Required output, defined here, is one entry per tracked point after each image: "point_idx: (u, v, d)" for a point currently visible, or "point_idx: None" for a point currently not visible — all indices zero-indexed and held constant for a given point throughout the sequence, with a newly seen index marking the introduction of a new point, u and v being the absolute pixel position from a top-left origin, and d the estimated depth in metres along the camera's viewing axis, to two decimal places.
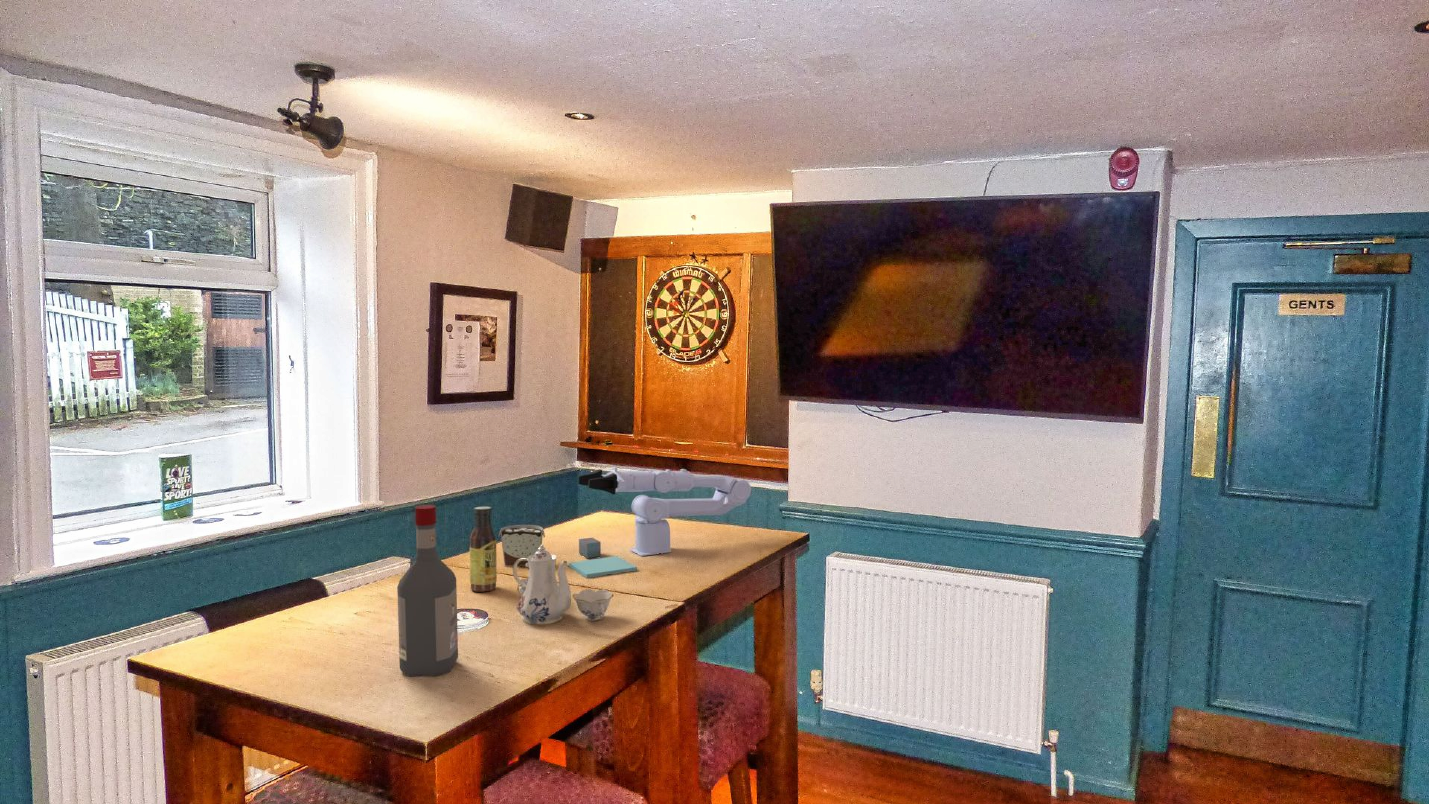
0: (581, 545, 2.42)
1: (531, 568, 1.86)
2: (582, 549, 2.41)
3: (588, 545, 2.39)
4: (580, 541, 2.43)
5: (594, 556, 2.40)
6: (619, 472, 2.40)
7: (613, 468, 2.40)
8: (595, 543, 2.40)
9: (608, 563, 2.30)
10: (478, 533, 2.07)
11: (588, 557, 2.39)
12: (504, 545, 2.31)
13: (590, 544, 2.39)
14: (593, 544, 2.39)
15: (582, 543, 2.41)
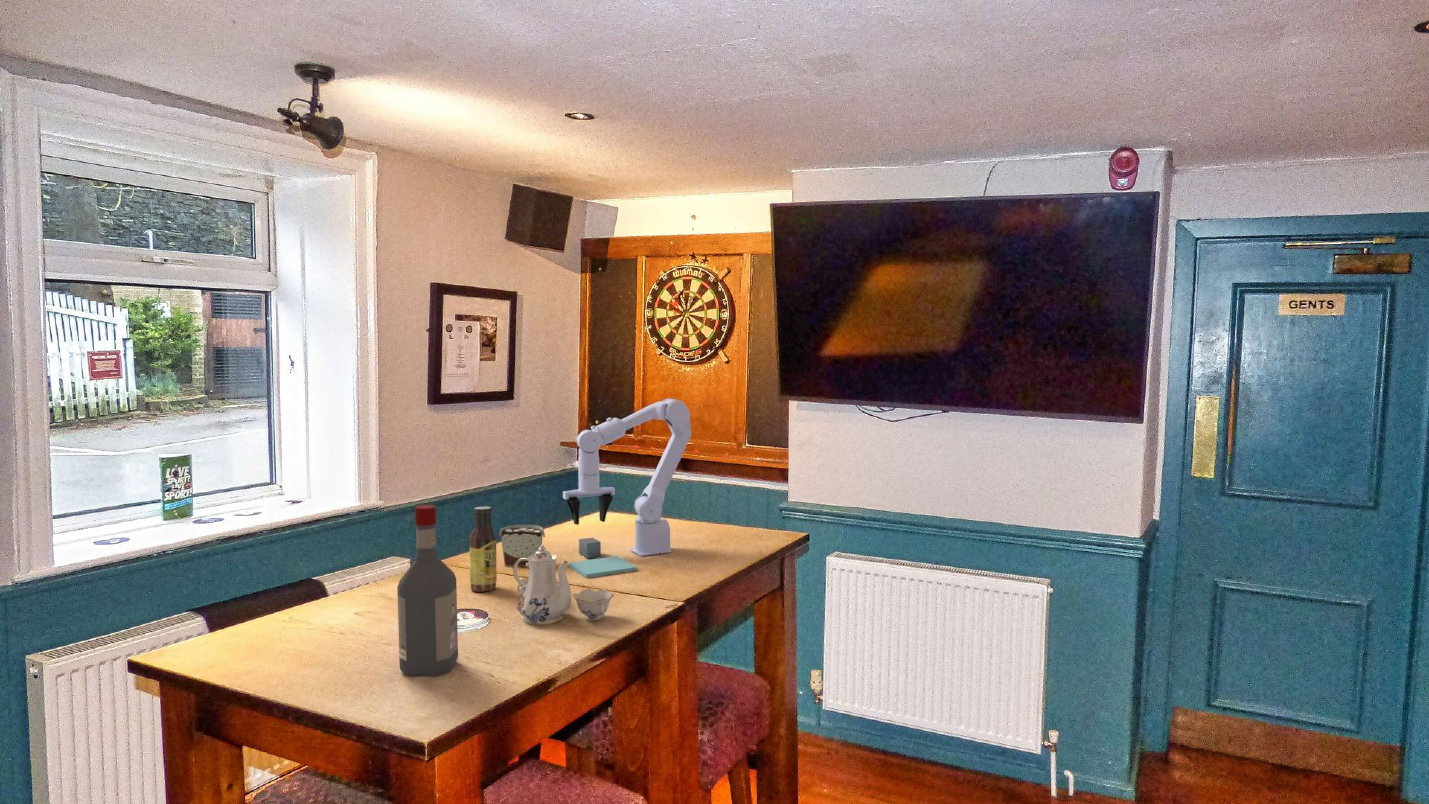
0: (581, 545, 2.42)
1: (531, 568, 1.86)
2: (582, 549, 2.41)
3: (588, 545, 2.39)
4: (580, 541, 2.43)
5: (594, 556, 2.40)
6: None
7: None
8: (595, 543, 2.40)
9: (608, 563, 2.30)
10: (478, 533, 2.07)
11: (588, 557, 2.39)
12: (504, 545, 2.31)
13: (590, 544, 2.39)
14: (593, 544, 2.39)
15: (582, 543, 2.41)
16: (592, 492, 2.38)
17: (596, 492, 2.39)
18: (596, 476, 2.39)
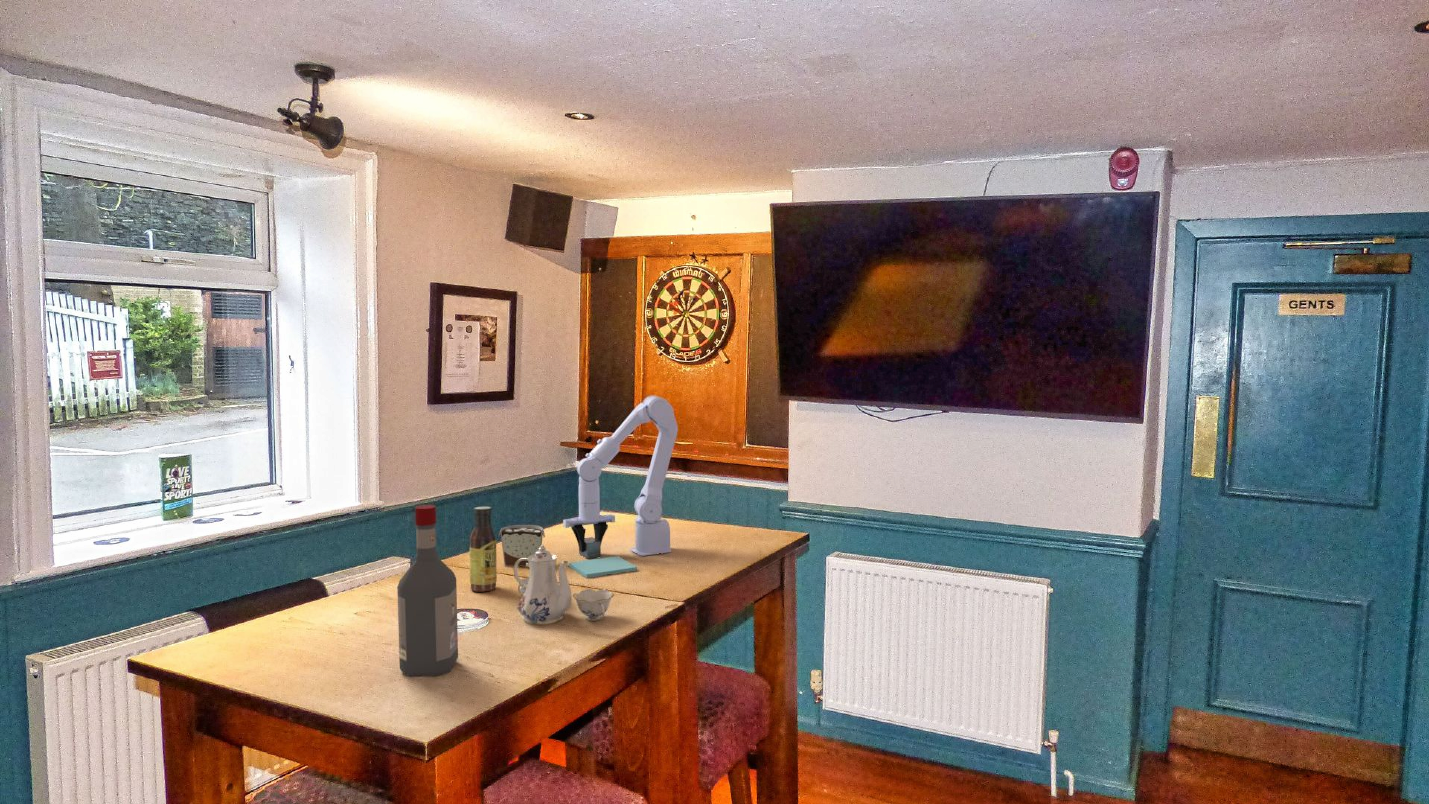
0: None
1: (531, 568, 1.86)
2: None
3: (588, 545, 2.39)
4: None
5: (594, 556, 2.40)
6: None
7: None
8: (595, 543, 2.40)
9: (608, 563, 2.30)
10: (478, 533, 2.07)
11: (588, 557, 2.39)
12: (504, 545, 2.31)
13: (590, 544, 2.39)
14: (593, 544, 2.39)
15: None
16: (592, 520, 2.39)
17: (596, 520, 2.39)
18: (596, 504, 2.39)
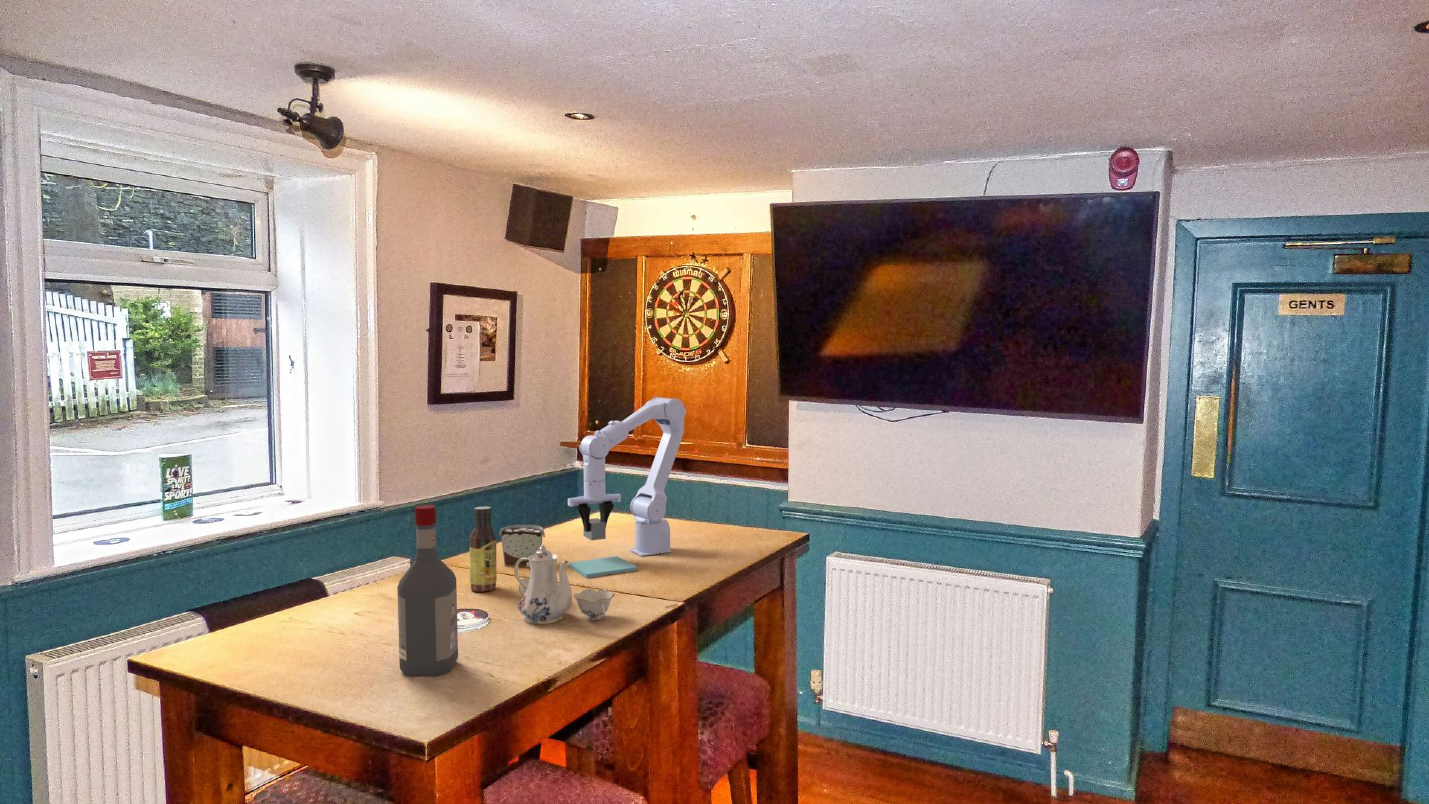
0: None
1: (532, 568, 1.86)
2: None
3: (593, 525, 2.32)
4: None
5: (599, 537, 2.33)
6: None
7: None
8: (600, 523, 2.33)
9: (608, 563, 2.30)
10: (478, 533, 2.07)
11: (593, 538, 2.32)
12: (504, 545, 2.31)
13: (595, 524, 2.33)
14: (598, 524, 2.33)
15: None
16: (598, 499, 2.32)
17: (602, 499, 2.33)
18: (602, 483, 2.33)
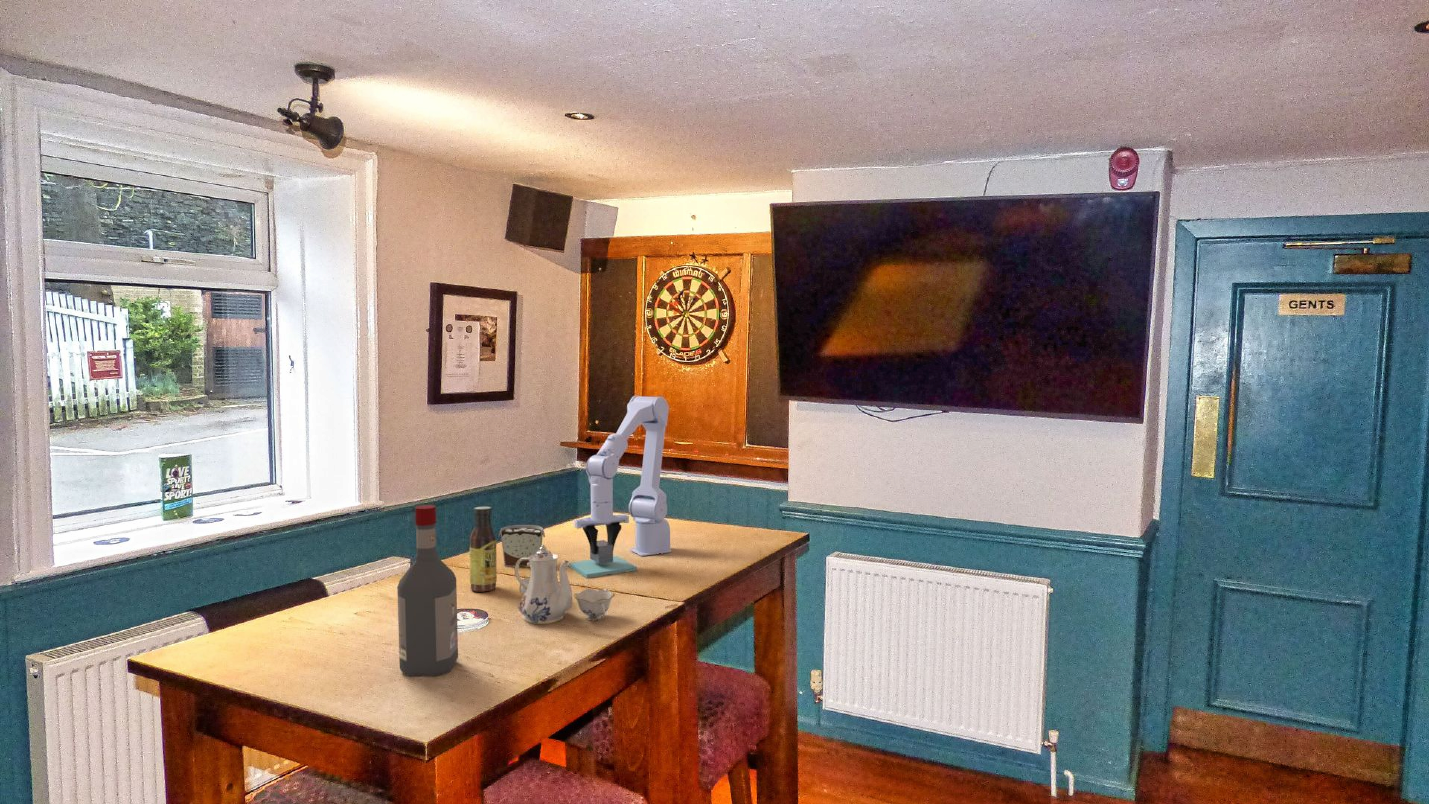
0: None
1: (532, 568, 1.86)
2: None
3: (600, 548, 2.26)
4: None
5: (606, 560, 2.27)
6: None
7: None
8: (607, 546, 2.27)
9: (608, 563, 2.30)
10: (478, 533, 2.07)
11: (600, 561, 2.26)
12: (504, 545, 2.31)
13: (602, 547, 2.26)
14: (605, 547, 2.26)
15: None
16: (605, 521, 2.25)
17: (609, 521, 2.26)
18: (609, 504, 2.26)
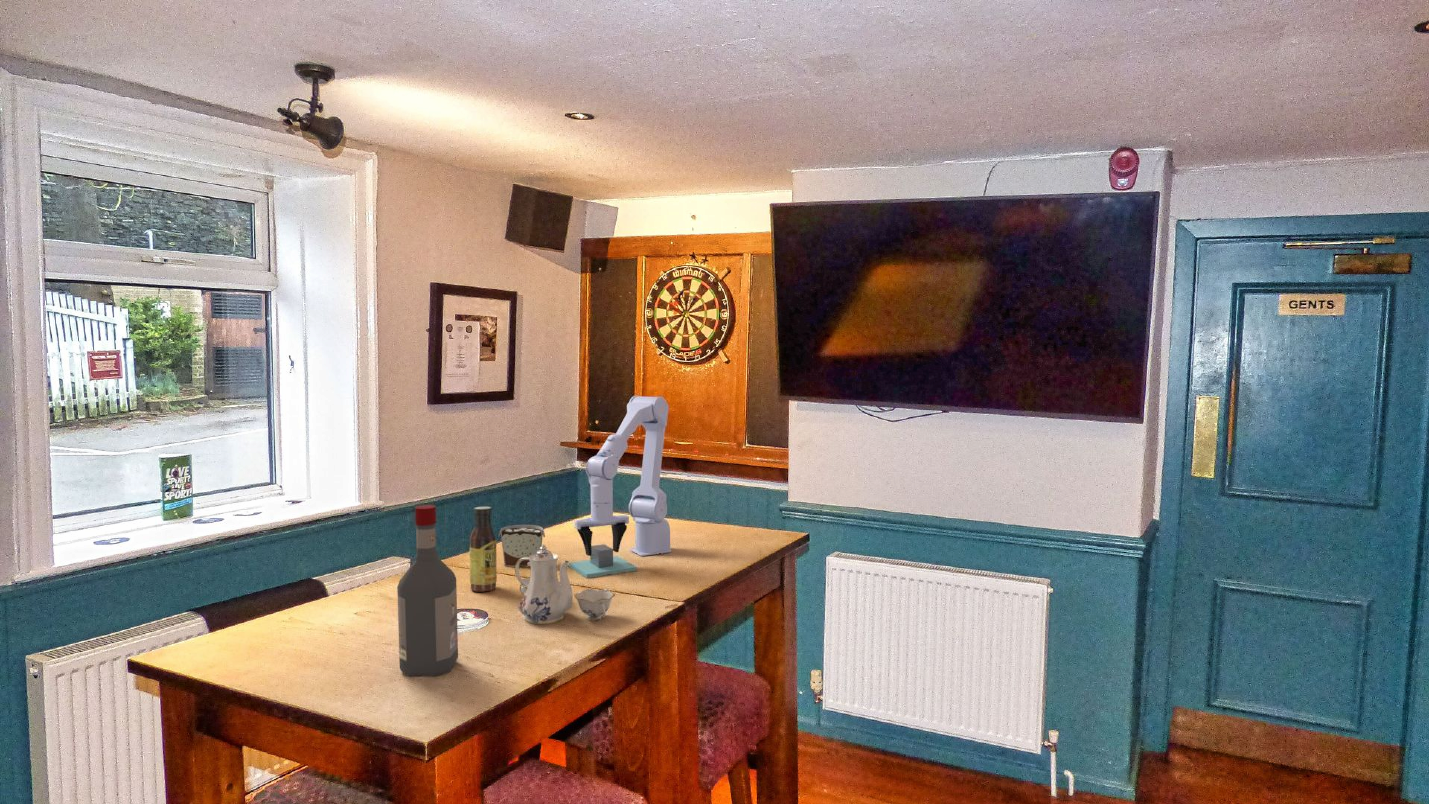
0: (592, 552, 2.29)
1: (533, 567, 1.87)
2: (593, 556, 2.29)
3: (600, 552, 2.26)
4: (591, 548, 2.30)
5: (606, 564, 2.27)
6: None
7: None
8: (607, 550, 2.27)
9: None
10: (478, 533, 2.07)
11: (600, 565, 2.26)
12: (504, 545, 2.31)
13: (602, 551, 2.26)
14: (605, 551, 2.26)
15: (593, 550, 2.29)
16: (605, 521, 2.25)
17: (609, 521, 2.26)
18: (609, 504, 2.26)
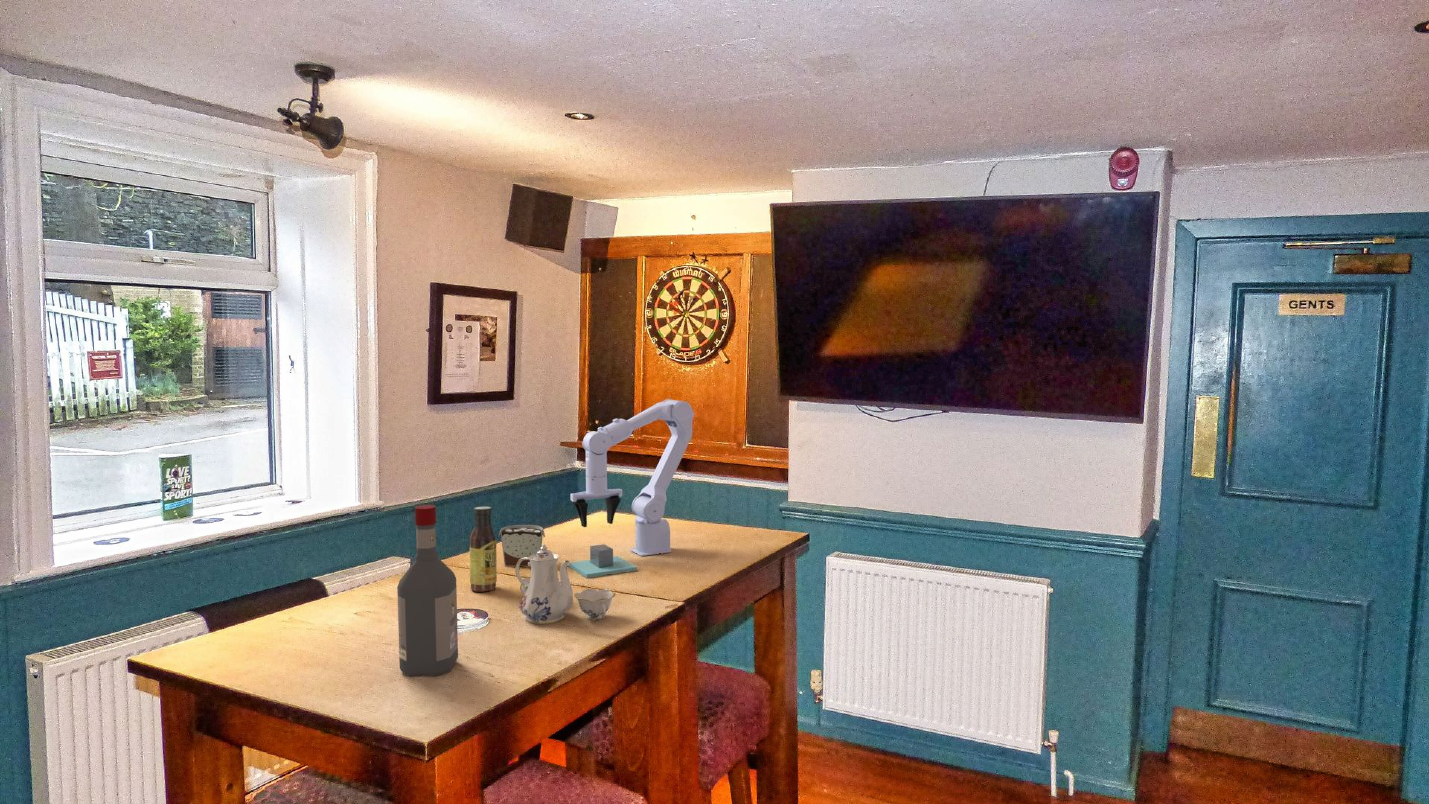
0: (592, 552, 2.29)
1: (533, 567, 1.87)
2: (593, 556, 2.29)
3: (600, 552, 2.26)
4: (591, 548, 2.30)
5: (606, 564, 2.27)
6: None
7: None
8: (607, 550, 2.27)
9: None
10: (478, 533, 2.07)
11: (600, 565, 2.26)
12: (504, 545, 2.31)
13: (602, 551, 2.26)
14: (605, 551, 2.26)
15: (593, 550, 2.29)
16: (600, 494, 2.35)
17: (604, 494, 2.36)
18: (604, 478, 2.36)
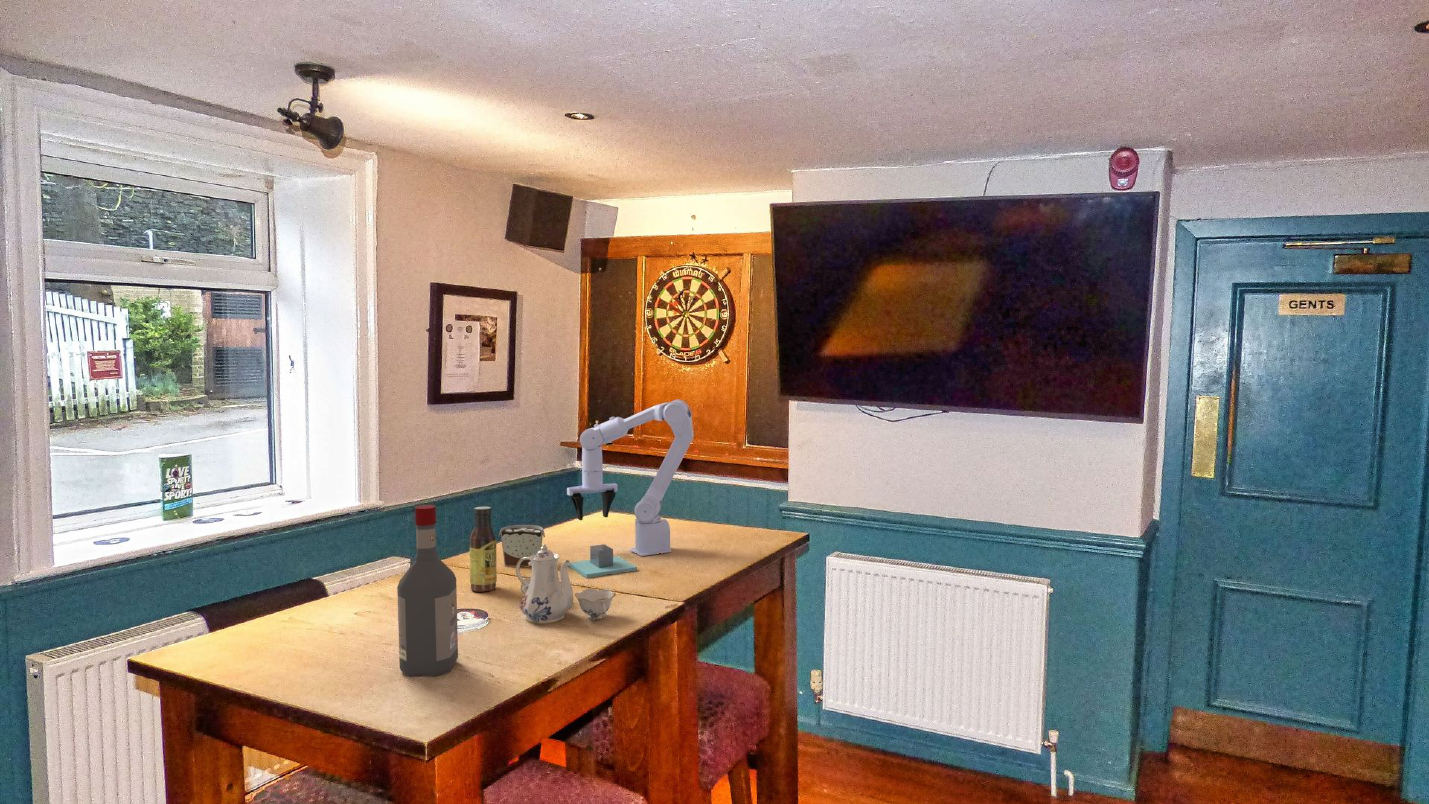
0: (592, 552, 2.29)
1: (533, 567, 1.87)
2: (593, 556, 2.29)
3: (600, 552, 2.26)
4: (591, 548, 2.30)
5: (606, 564, 2.27)
6: None
7: None
8: (607, 550, 2.27)
9: None
10: (478, 533, 2.07)
11: (600, 565, 2.26)
12: (504, 545, 2.31)
13: (602, 551, 2.26)
14: (605, 551, 2.26)
15: (593, 550, 2.29)
16: (595, 488, 2.44)
17: (599, 488, 2.45)
18: (599, 473, 2.45)
